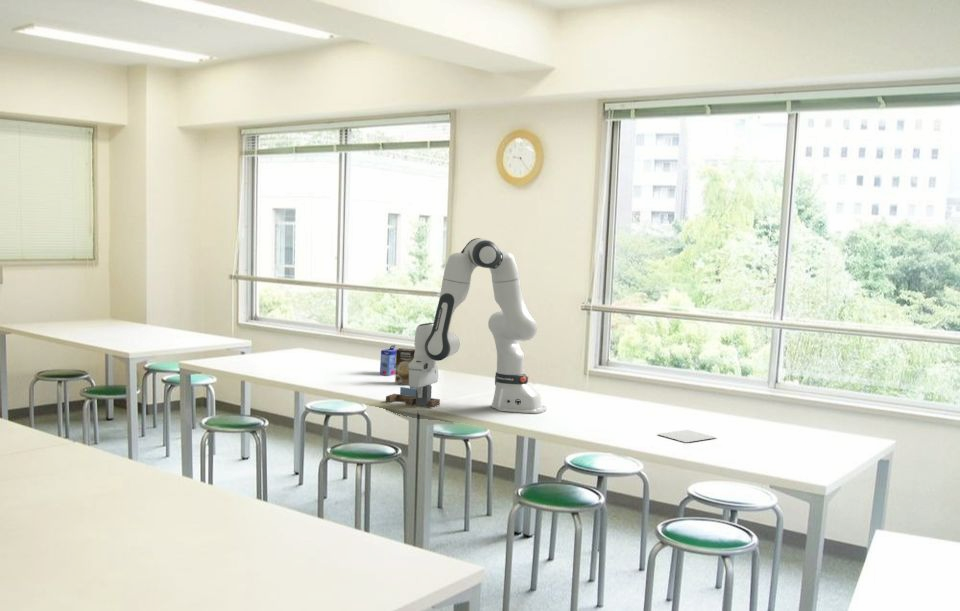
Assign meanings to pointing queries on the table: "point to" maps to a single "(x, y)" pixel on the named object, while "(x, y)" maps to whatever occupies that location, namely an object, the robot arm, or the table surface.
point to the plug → (424, 396)
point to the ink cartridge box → (388, 361)
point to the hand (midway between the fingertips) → (423, 396)
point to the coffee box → (403, 365)
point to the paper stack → (686, 435)
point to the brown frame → (409, 397)
